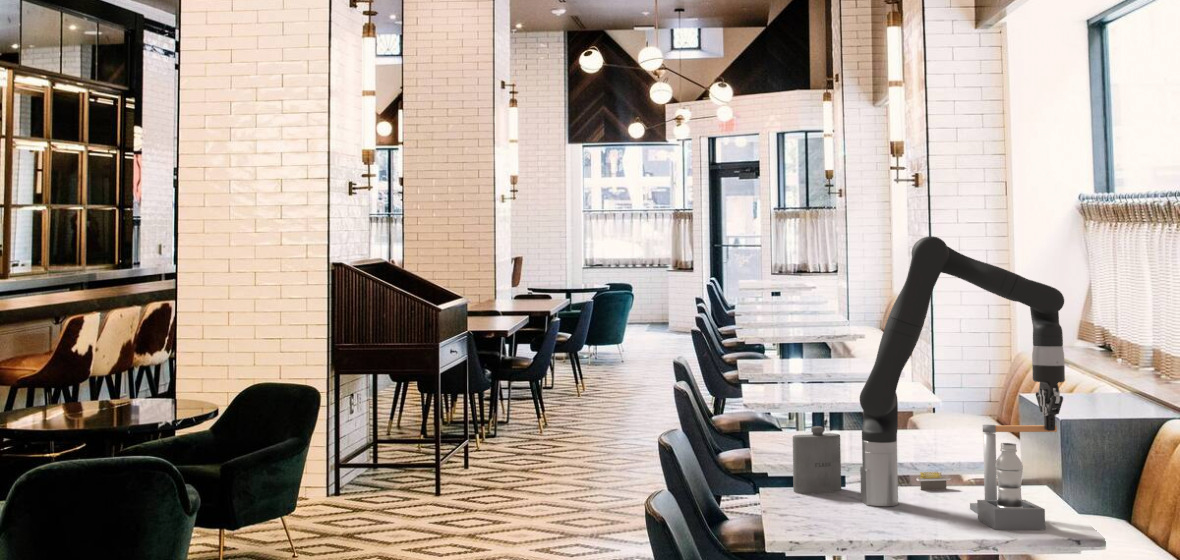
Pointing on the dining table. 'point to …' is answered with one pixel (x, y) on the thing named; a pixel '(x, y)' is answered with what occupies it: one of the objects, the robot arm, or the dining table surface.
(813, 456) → the flask
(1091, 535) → the dining table surface
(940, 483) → the platform
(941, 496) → the dining table surface
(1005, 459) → the plastic bottle
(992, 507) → the plug dock
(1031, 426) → the slender peach stick
